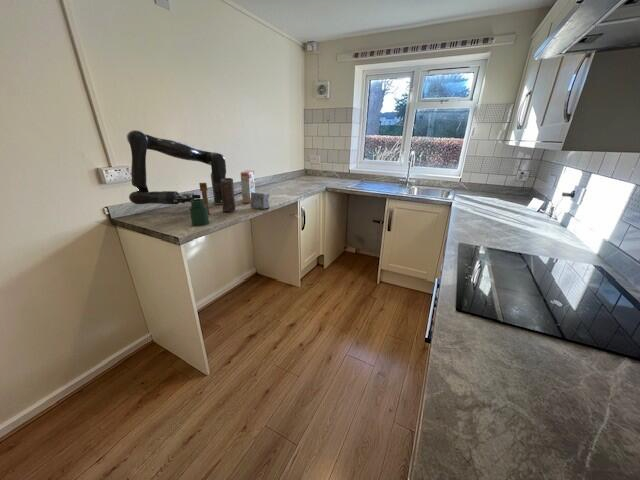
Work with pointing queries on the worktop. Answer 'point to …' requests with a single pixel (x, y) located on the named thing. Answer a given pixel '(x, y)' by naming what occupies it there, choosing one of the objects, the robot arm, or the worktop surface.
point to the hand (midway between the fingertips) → (197, 198)
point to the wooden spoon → (204, 194)
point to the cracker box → (247, 185)
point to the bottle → (198, 212)
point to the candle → (227, 194)
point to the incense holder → (259, 200)
